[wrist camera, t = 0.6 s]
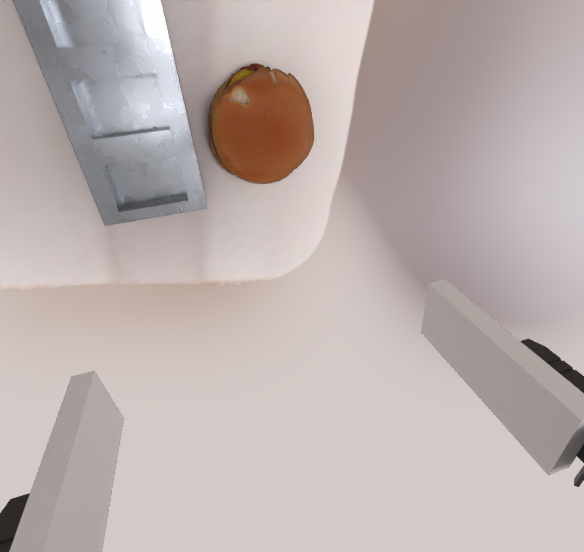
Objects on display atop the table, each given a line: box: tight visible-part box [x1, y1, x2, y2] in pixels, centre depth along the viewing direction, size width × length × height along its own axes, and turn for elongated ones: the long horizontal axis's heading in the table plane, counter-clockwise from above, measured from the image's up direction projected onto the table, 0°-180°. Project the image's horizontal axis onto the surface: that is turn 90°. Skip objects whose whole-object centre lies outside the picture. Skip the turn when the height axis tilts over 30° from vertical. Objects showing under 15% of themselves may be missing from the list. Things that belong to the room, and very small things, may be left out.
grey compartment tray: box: [13, 0, 207, 226], centre depth 26 cm, size 24×9×4 cm, turn 6°
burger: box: [209, 64, 314, 184], centre depth 31 cm, size 10×9×5 cm
